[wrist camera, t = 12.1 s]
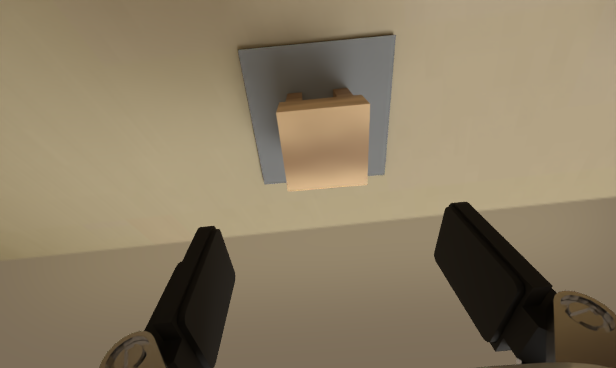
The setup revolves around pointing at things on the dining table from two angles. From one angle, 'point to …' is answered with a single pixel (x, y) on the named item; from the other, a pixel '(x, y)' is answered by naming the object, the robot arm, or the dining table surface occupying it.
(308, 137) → the stool
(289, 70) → the mat
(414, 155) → the dining table surface
